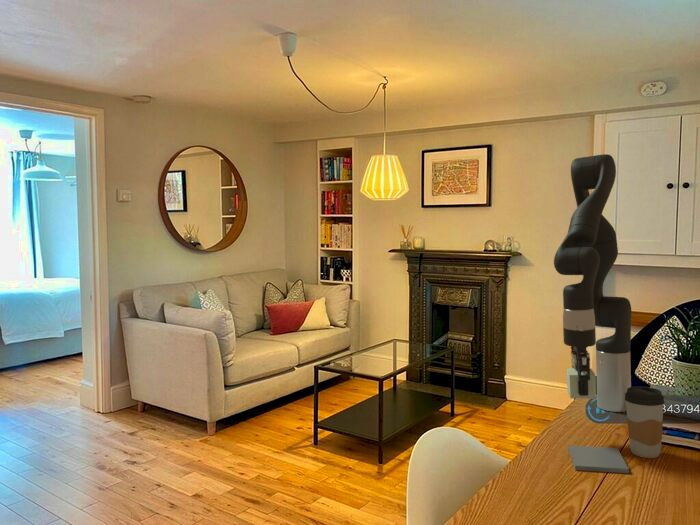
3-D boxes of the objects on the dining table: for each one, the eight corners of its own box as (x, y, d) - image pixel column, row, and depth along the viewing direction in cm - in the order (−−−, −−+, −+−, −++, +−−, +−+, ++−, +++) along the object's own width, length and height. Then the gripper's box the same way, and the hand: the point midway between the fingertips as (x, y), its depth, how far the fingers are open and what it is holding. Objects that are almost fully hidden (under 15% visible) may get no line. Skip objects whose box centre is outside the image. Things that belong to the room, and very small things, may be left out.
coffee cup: (655, 446, 134) (654, 385, 134) (672, 460, 126) (671, 395, 125) (620, 446, 135) (618, 386, 134) (634, 460, 127) (632, 396, 126)
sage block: (567, 391, 144) (566, 368, 143) (592, 391, 142) (591, 368, 142) (570, 398, 138) (569, 374, 138) (596, 398, 136) (595, 375, 136)
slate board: (568, 449, 135) (568, 445, 135) (617, 452, 132) (617, 447, 132) (575, 470, 123) (575, 465, 123) (629, 473, 120) (628, 468, 120)
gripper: (559, 321, 147) (562, 382, 148) (566, 331, 133) (569, 399, 134) (590, 320, 145) (592, 383, 146) (600, 331, 131) (602, 400, 132)
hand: (581, 390), depth 140 cm, fingers closed on sage block, 6 cm apart
